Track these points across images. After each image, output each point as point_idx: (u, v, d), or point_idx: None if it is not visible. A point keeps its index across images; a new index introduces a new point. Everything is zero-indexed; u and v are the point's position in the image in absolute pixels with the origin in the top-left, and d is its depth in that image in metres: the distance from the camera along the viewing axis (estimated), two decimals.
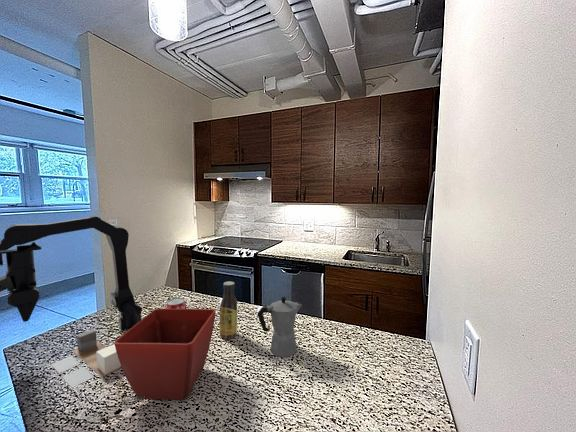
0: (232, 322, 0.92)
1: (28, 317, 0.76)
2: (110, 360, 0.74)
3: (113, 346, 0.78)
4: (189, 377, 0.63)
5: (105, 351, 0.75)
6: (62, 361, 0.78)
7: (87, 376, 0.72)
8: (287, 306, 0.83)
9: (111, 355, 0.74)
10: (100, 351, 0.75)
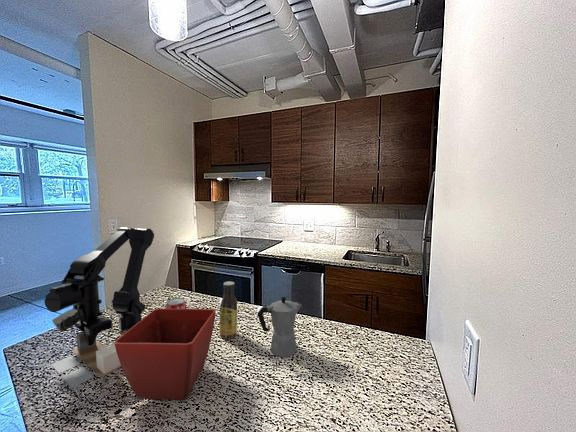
0: (232, 322, 0.92)
1: (93, 341, 0.84)
2: (109, 360, 0.74)
3: (112, 346, 0.78)
4: (189, 377, 0.63)
5: (104, 351, 0.75)
6: (62, 361, 0.78)
7: (87, 376, 0.72)
8: (287, 306, 0.83)
9: (110, 355, 0.74)
10: (99, 351, 0.75)
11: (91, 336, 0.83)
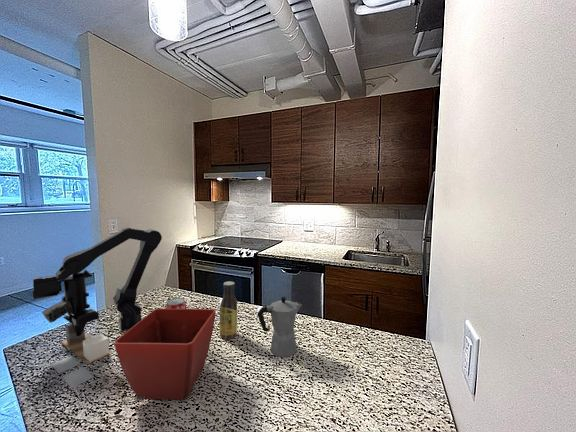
0: (232, 322, 0.92)
1: (81, 332, 0.89)
2: (95, 348, 0.79)
3: (99, 336, 0.83)
4: (189, 377, 0.63)
5: (91, 340, 0.81)
6: (62, 361, 0.78)
7: (87, 376, 0.72)
8: (287, 306, 0.83)
9: (96, 344, 0.79)
10: (86, 340, 0.81)
11: (79, 327, 0.88)
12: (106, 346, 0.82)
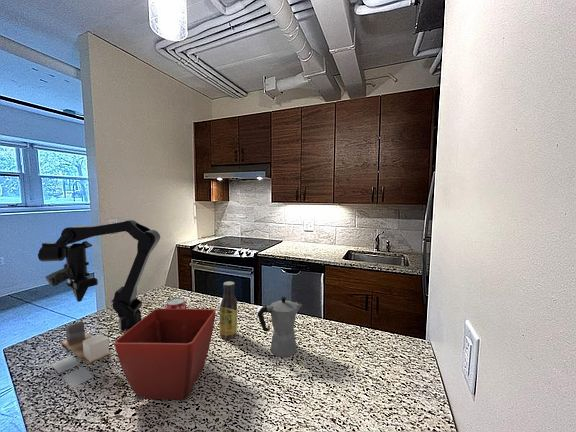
0: (232, 322, 0.92)
1: (81, 298, 0.96)
2: (95, 348, 0.79)
3: (99, 336, 0.83)
4: (189, 377, 0.63)
5: (91, 340, 0.81)
6: (62, 361, 0.78)
7: (87, 376, 0.72)
8: (287, 306, 0.83)
9: (96, 344, 0.79)
10: (86, 340, 0.81)
11: (79, 293, 0.95)
12: (106, 346, 0.82)
